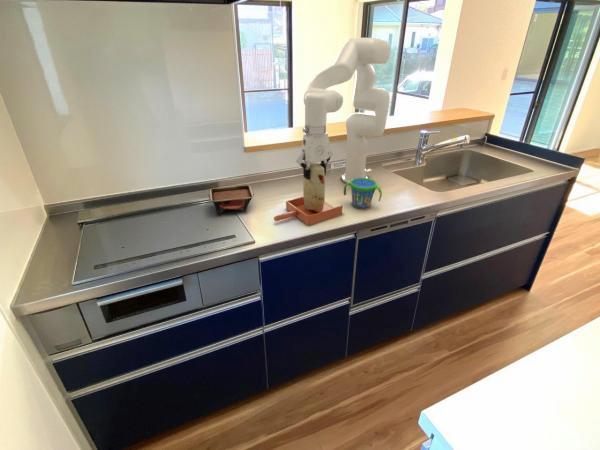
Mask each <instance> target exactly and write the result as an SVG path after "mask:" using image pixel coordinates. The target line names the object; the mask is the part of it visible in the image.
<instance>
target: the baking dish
mask: <svg viewBox="0 0 600 450" xmlns="http://www.w3.org/2000/svg"><path fill="white" fill-rule="evenodd" d="M254 196H255V193H254V191H253V188H252V187H251V185H250V184H241V185H232V186H231V185H230V186H224V187H223V186H222V187H213V188H210V189H209V191H208V198H209V200H210V201H211V202H212V203H213V205H214V208H215V211H216V213H217V216H220V215H221V213H223V212H225V211H226V210H230V211H236V210H239V211H243V212H247V209H248V205H249V204H250V202H251V201H252V199H253V198H254Z"/></svg>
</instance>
